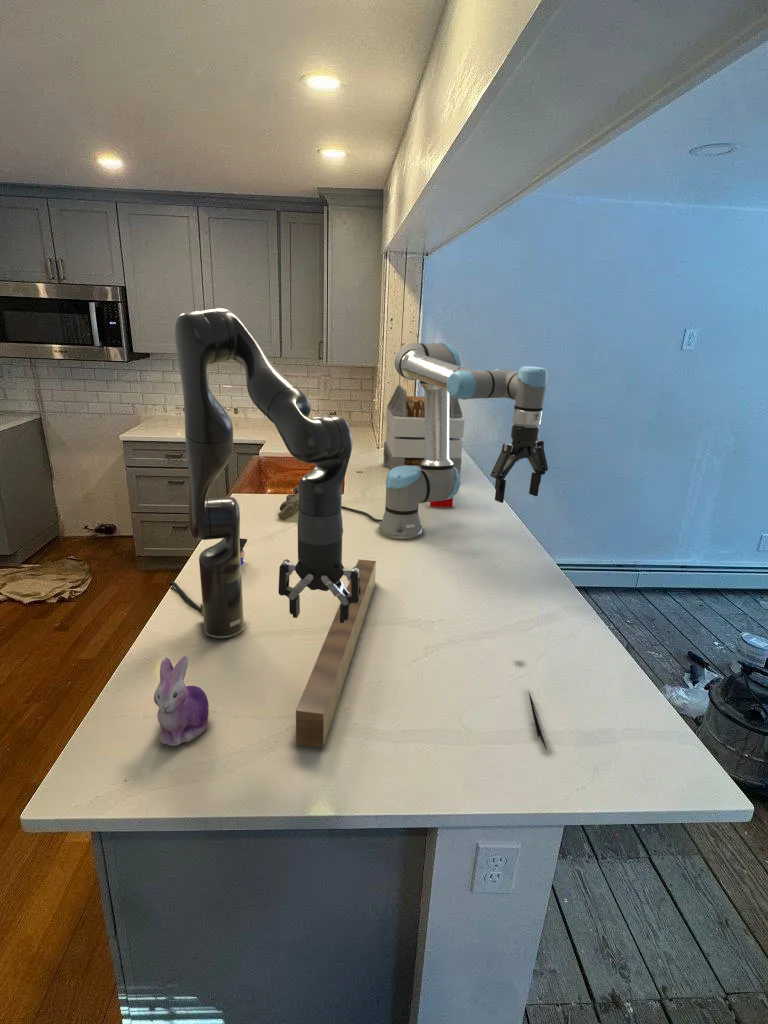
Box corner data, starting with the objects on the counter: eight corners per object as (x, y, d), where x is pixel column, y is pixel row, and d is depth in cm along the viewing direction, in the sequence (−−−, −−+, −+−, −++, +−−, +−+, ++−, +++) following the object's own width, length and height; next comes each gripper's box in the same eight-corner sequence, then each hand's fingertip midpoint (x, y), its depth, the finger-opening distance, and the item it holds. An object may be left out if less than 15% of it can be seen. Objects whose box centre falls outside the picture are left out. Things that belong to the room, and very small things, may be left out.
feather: (520, 667, 129) (525, 661, 129) (546, 754, 103) (553, 747, 102) (514, 663, 129) (519, 657, 129) (538, 750, 103) (545, 742, 102)
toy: (448, 465, 253) (458, 475, 224) (446, 495, 256) (456, 508, 226) (421, 464, 252) (428, 474, 223) (419, 494, 255) (426, 507, 226)
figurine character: (238, 584, 162) (249, 557, 175) (236, 562, 158) (247, 536, 172) (215, 584, 161) (227, 556, 175) (212, 561, 158) (225, 535, 171)
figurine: (161, 756, 98) (153, 683, 93) (154, 719, 106) (146, 651, 101) (216, 740, 102) (211, 669, 97) (205, 705, 111) (200, 639, 106)
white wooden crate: (382, 463, 289) (386, 382, 275) (445, 464, 293) (451, 384, 279) (390, 482, 257) (394, 392, 243) (460, 483, 261) (468, 394, 247)
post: (357, 582, 163) (358, 559, 161) (375, 584, 163) (376, 561, 160) (296, 744, 102) (295, 710, 100) (323, 748, 102) (323, 714, 99)
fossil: (283, 491, 225) (311, 471, 220) (299, 509, 228) (327, 489, 223) (268, 515, 206) (298, 494, 201) (285, 535, 209) (316, 514, 204)
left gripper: (272, 539, 93) (274, 625, 99) (357, 546, 92) (355, 633, 97) (285, 523, 100) (287, 604, 106) (365, 530, 99) (362, 612, 104)
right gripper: (502, 431, 146) (493, 508, 154) (567, 424, 159) (556, 496, 166) (482, 425, 152) (474, 500, 159) (547, 419, 165) (537, 488, 172)
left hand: (319, 618), depth 101 cm, fingers open, 8 cm apart
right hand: (516, 498), depth 163 cm, fingers open, 13 cm apart
